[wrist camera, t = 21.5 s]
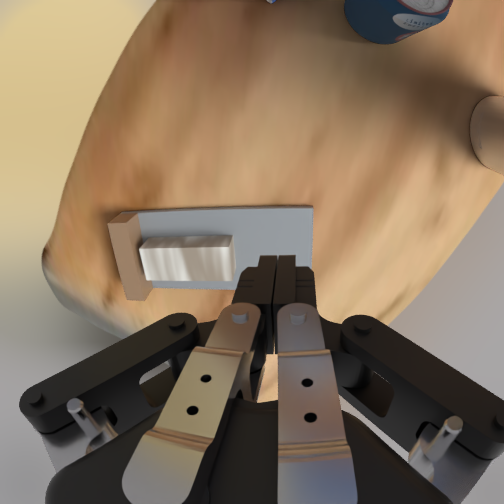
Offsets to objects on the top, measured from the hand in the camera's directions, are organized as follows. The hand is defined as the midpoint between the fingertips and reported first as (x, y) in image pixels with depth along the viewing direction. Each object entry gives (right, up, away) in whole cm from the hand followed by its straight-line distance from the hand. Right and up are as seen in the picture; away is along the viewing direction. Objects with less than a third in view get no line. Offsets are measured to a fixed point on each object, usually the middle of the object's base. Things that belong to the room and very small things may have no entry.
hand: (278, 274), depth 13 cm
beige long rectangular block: (-3, 0, +21) cm, 21 cm away
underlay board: (-5, +1, +23) cm, 24 cm away
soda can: (+11, +25, +10) cm, 29 cm away
